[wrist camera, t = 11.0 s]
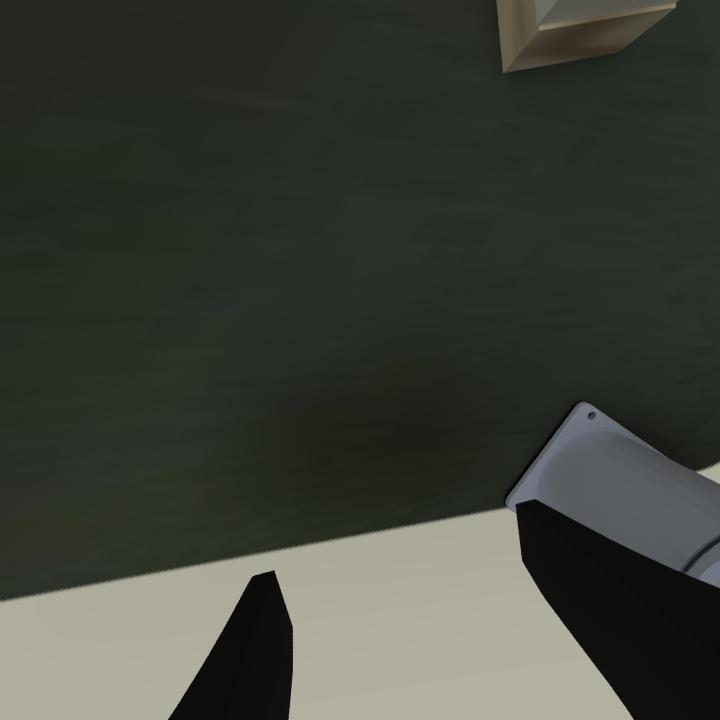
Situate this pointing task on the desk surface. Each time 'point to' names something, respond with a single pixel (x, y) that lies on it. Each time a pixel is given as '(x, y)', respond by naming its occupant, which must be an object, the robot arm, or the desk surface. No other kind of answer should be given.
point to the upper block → (588, 8)
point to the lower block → (566, 34)
